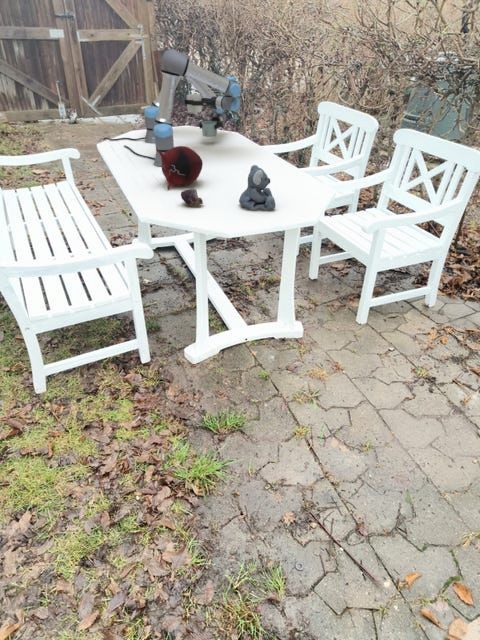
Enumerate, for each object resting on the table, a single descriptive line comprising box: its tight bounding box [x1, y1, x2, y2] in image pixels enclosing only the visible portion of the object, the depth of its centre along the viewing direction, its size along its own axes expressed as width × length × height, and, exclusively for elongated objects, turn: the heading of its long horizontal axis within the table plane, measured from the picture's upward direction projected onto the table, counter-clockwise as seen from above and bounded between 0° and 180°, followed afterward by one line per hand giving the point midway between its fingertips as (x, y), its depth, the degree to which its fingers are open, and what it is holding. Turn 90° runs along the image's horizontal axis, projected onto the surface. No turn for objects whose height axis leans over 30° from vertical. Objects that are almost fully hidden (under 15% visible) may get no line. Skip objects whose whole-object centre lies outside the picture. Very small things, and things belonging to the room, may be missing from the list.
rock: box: [180, 188, 204, 207], centre depth 229 cm, size 12×9×10 cm
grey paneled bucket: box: [186, 93, 203, 114], centre depth 306 cm, size 10×10×10 cm
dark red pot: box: [158, 145, 203, 191], centre depth 255 cm, size 21×24×25 cm
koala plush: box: [238, 164, 276, 211], centre depth 224 cm, size 17×18×20 cm
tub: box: [201, 120, 218, 138], centre depth 332 cm, size 11×11×9 cm
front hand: (189, 100), depth 307 cm, fingers closed on grey paneled bucket, 10 cm apart
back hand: (207, 127), depth 328 cm, fingers closed on tub, 11 cm apart
